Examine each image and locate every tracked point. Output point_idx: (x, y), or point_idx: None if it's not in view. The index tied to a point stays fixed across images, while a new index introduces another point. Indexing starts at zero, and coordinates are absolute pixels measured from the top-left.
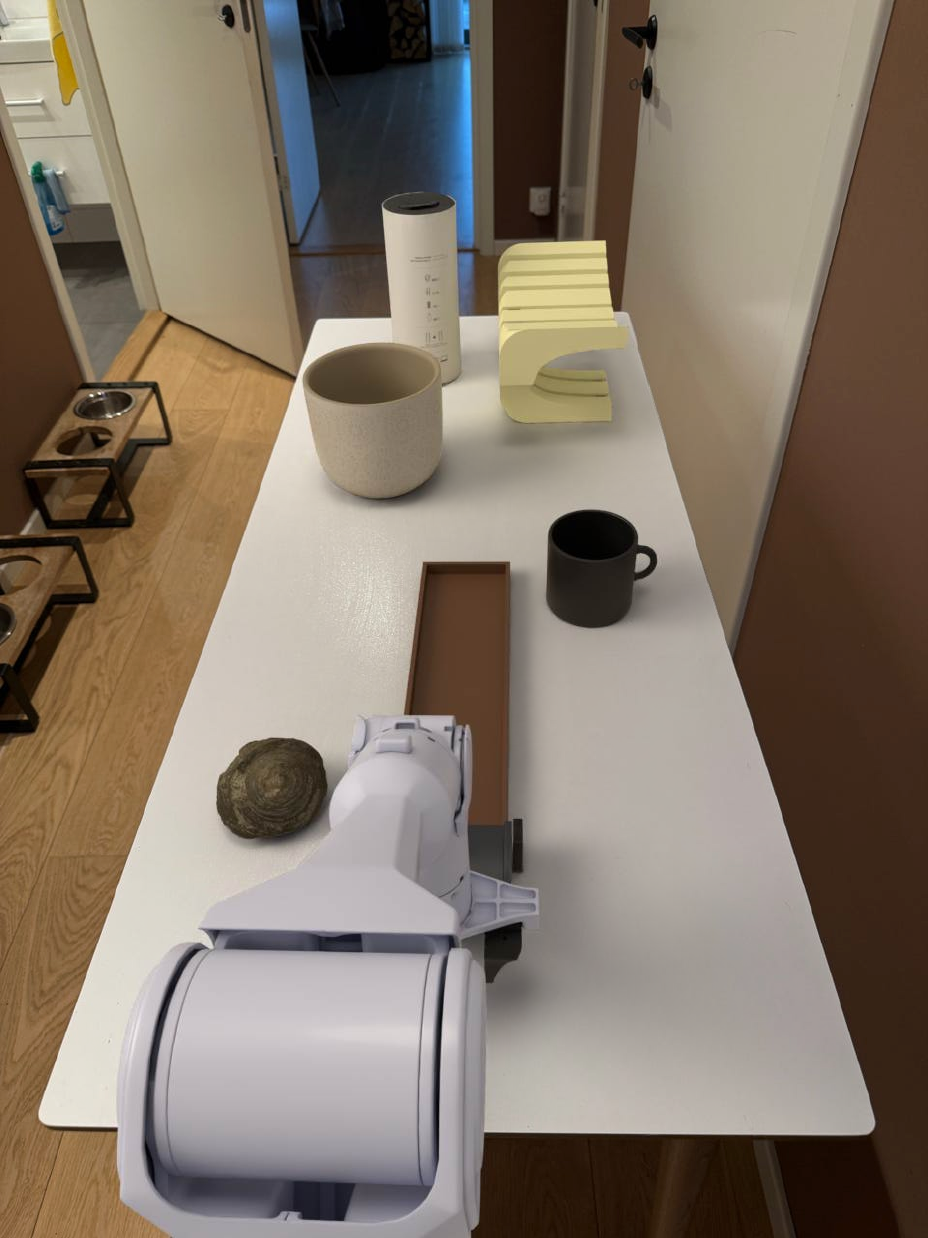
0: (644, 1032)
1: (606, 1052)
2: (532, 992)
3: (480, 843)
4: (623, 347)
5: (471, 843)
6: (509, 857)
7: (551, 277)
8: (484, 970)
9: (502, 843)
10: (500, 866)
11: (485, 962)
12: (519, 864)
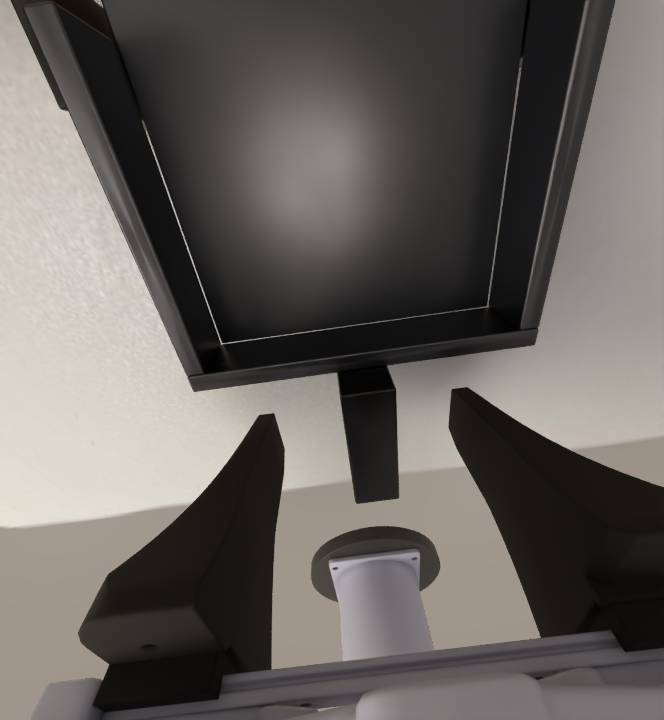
0: (629, 365)
1: (570, 393)
2: None
3: (444, 37)
4: None
5: (414, 43)
6: (575, 147)
7: None
8: (466, 455)
9: (520, 23)
10: (501, 135)
11: (512, 558)
12: (519, 66)
